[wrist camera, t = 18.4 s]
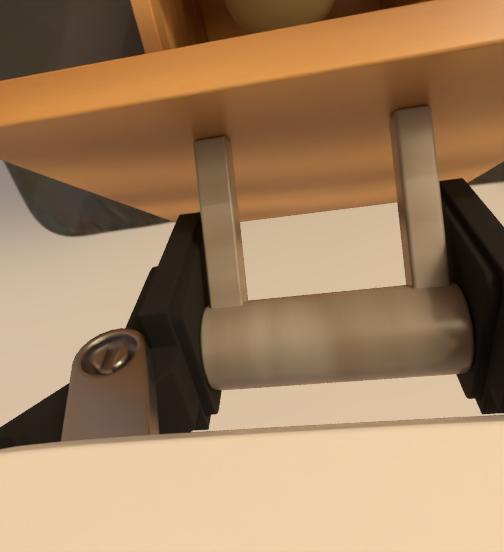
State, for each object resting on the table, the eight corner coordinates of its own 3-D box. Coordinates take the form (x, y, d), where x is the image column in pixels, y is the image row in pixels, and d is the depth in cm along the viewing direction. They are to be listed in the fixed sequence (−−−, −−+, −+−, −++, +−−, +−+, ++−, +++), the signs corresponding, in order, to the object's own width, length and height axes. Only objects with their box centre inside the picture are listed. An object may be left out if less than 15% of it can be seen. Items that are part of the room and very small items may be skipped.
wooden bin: (164, -120, 25) (81, -168, 15) (393, -176, 23) (481, -275, 13) (218, 134, 33) (191, 216, 23) (389, 107, 32) (441, 183, 21)
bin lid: (-69, 91, 8) (-34, 441, 8) (783, -68, 6) (836, 392, 6) (188, 212, 23) (200, 328, 23) (443, 179, 21) (457, 305, 21)
